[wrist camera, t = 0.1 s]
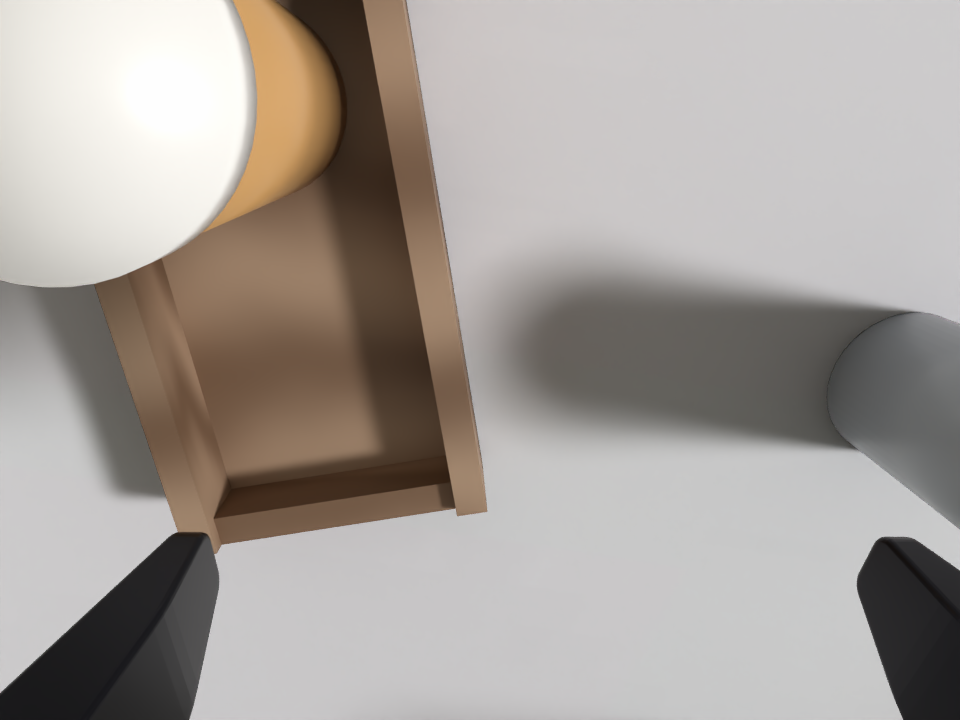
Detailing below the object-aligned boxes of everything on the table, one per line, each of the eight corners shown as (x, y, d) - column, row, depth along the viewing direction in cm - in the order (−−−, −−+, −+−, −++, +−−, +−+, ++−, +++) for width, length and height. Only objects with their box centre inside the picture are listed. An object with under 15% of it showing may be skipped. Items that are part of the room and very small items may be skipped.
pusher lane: (482, 462, 26) (490, 537, 21) (220, 502, 26) (169, 587, 21) (365, -245, 19) (338, -369, 14) (5, -187, 19) (-142, -292, 14)
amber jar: (274, 240, 22) (89, 363, 11) (114, 112, 20) (-299, 95, 9) (389, 94, 21) (321, 57, 9) (228, -53, 19) (-86, -309, 8)
